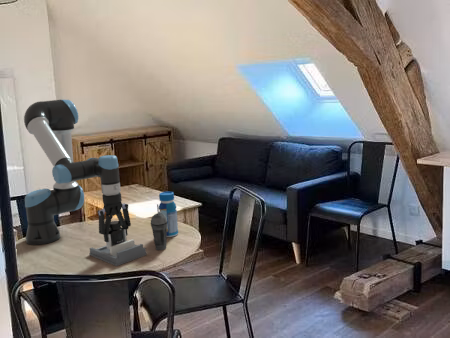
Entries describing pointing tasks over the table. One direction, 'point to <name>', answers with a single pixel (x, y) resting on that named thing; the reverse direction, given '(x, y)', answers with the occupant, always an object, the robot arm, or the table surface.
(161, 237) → the beverage cup
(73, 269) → the table surface
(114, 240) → the supplement bottle
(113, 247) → the plate
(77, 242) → the table surface
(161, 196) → the beverage bottle
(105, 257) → the pusher lane
